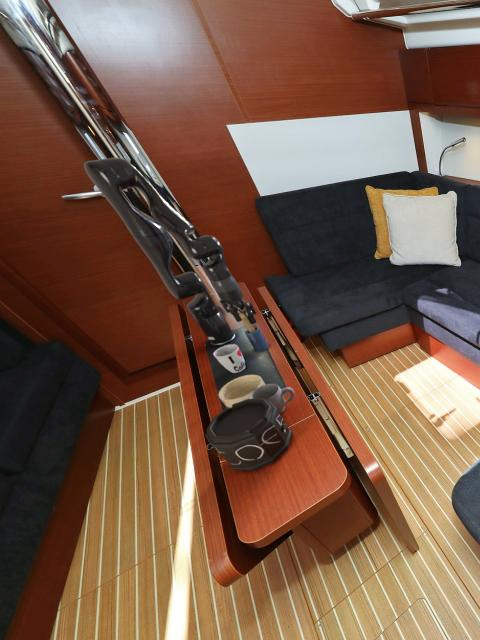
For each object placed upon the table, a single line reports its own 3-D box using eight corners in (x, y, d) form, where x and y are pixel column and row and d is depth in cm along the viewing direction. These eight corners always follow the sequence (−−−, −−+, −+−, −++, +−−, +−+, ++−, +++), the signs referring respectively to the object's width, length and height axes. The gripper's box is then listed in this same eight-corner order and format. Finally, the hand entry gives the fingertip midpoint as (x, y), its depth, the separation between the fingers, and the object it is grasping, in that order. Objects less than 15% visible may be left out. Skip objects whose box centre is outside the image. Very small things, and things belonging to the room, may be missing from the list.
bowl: (225, 400, 122) (215, 387, 118) (265, 382, 130) (256, 369, 125) (233, 419, 115) (222, 406, 111) (274, 400, 122) (266, 387, 118)
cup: (238, 376, 132) (225, 358, 126) (221, 373, 134) (207, 355, 128) (254, 364, 139) (242, 345, 133) (238, 361, 140) (226, 343, 134)
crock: (253, 348, 148) (243, 330, 142) (267, 343, 151) (257, 325, 145) (256, 353, 145) (246, 335, 139) (270, 348, 148) (260, 330, 142)
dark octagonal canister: (289, 465, 101) (266, 434, 91) (221, 481, 96) (190, 450, 87) (301, 421, 114) (282, 390, 105) (243, 433, 110) (218, 401, 101)
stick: (258, 347, 147) (238, 313, 136) (263, 345, 148) (244, 311, 138) (259, 349, 146) (239, 315, 135) (265, 347, 147) (245, 313, 136)
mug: (263, 424, 113) (250, 405, 107) (261, 408, 119) (248, 390, 113) (301, 409, 119) (290, 390, 113) (297, 394, 125) (287, 376, 119)
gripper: (249, 285, 131) (267, 319, 140) (221, 281, 133) (241, 315, 143) (232, 294, 125) (252, 329, 135) (203, 289, 128) (225, 324, 138)
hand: (246, 322), depth 139 cm, fingers open, 7 cm apart
